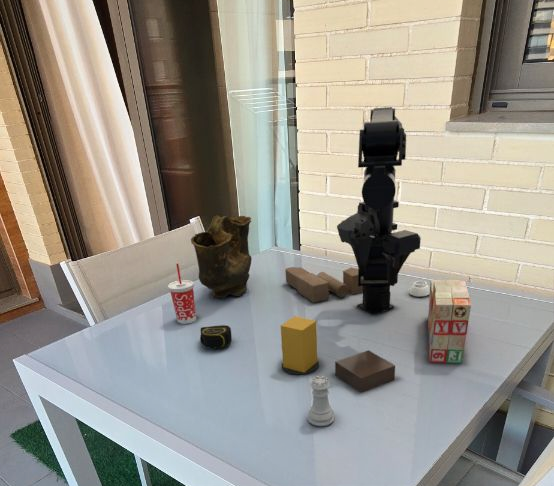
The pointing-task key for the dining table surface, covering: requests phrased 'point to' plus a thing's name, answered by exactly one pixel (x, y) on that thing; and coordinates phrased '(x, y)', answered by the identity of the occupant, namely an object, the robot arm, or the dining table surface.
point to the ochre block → (299, 343)
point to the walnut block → (364, 370)
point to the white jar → (420, 289)
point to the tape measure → (215, 336)
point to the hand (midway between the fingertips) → (375, 277)
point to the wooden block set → (322, 283)
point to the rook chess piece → (320, 403)
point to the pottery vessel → (224, 255)
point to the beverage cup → (183, 299)
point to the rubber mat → (299, 371)
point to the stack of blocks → (448, 320)
